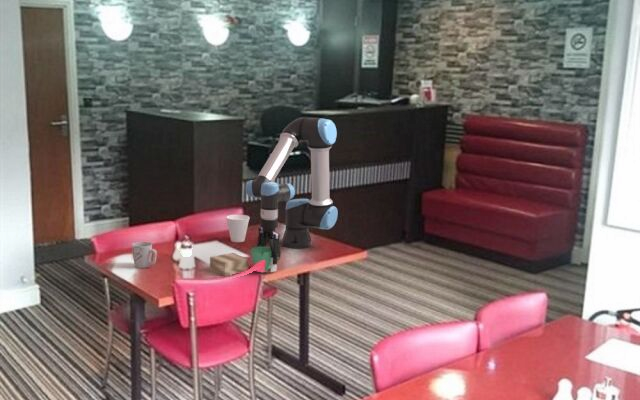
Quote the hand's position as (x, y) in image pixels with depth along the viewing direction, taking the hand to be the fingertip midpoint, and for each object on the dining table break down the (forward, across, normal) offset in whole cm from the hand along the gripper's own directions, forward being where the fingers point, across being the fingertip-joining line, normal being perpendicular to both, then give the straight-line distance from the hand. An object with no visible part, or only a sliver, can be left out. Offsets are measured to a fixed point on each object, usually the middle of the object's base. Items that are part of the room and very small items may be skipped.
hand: (268, 268), depth 301 cm
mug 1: (+1, -31, -44) cm, 54 cm away
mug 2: (+1, 0, -1) cm, 1 cm away
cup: (+1, -51, +13) cm, 53 cm away
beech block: (+1, -8, -15) cm, 17 cm away
